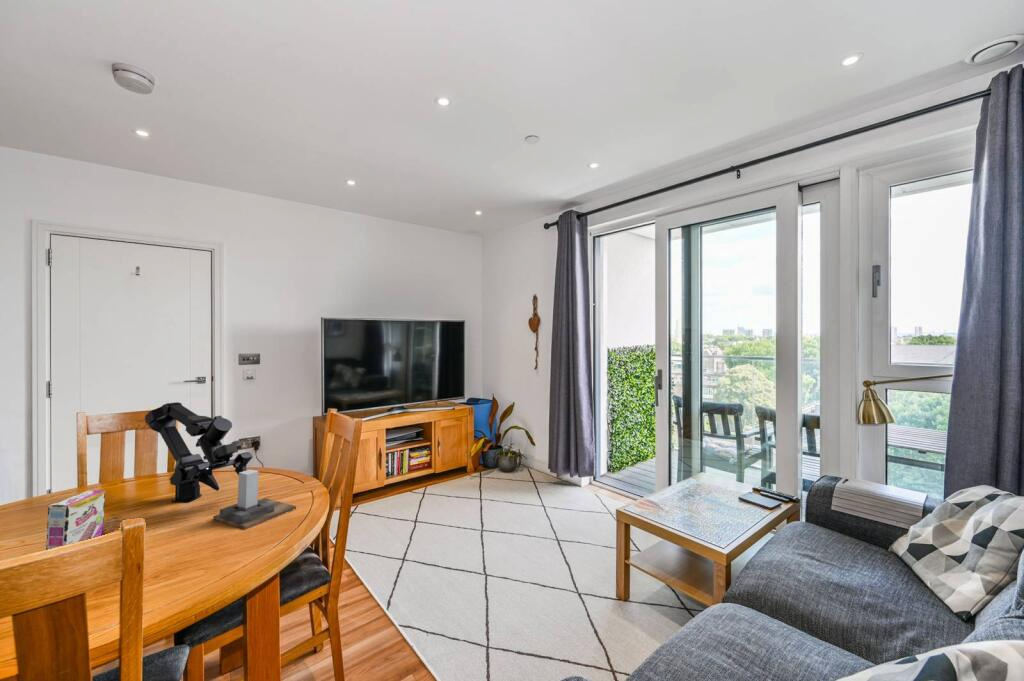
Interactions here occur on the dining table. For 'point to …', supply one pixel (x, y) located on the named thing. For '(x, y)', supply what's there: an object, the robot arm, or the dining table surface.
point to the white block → (248, 490)
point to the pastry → (112, 524)
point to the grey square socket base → (253, 513)
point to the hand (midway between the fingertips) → (232, 485)
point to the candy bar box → (75, 519)
